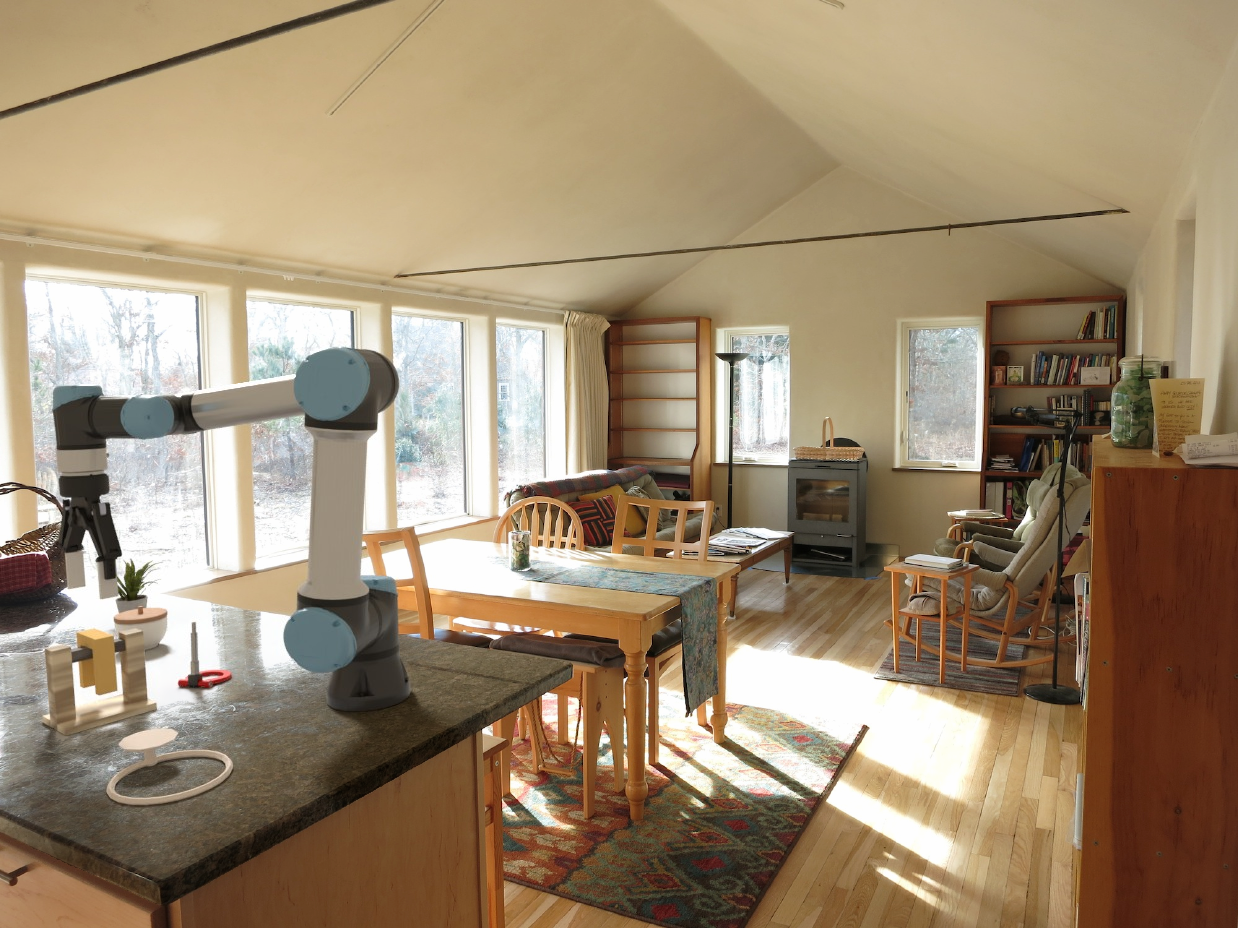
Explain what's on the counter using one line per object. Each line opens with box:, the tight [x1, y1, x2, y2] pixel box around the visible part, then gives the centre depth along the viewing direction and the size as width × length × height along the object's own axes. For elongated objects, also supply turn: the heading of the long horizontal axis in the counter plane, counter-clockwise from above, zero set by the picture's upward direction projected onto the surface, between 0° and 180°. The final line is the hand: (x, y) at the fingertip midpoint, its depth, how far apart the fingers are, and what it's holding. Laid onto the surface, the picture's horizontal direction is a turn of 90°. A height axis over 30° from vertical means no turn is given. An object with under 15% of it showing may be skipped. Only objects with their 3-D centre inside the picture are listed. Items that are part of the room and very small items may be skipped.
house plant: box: [115, 558, 163, 614], centre depth 219 cm, size 14×14×16 cm
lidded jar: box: [113, 606, 168, 651], centre depth 199 cm, size 11×11×9 cm
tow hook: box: [177, 621, 232, 689], centre depth 175 cm, size 8×13×9 cm
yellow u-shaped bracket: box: [75, 628, 118, 696], centre depth 156 cm, size 8×3×10 cm, turn 52°
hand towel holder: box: [106, 728, 234, 806], centre depth 132 cm, size 17×4×21 cm
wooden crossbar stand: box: [41, 628, 158, 736], centre depth 156 cm, size 10×15×14 cm, turn 142°
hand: (92, 592), depth 155 cm, fingers open, 13 cm apart
